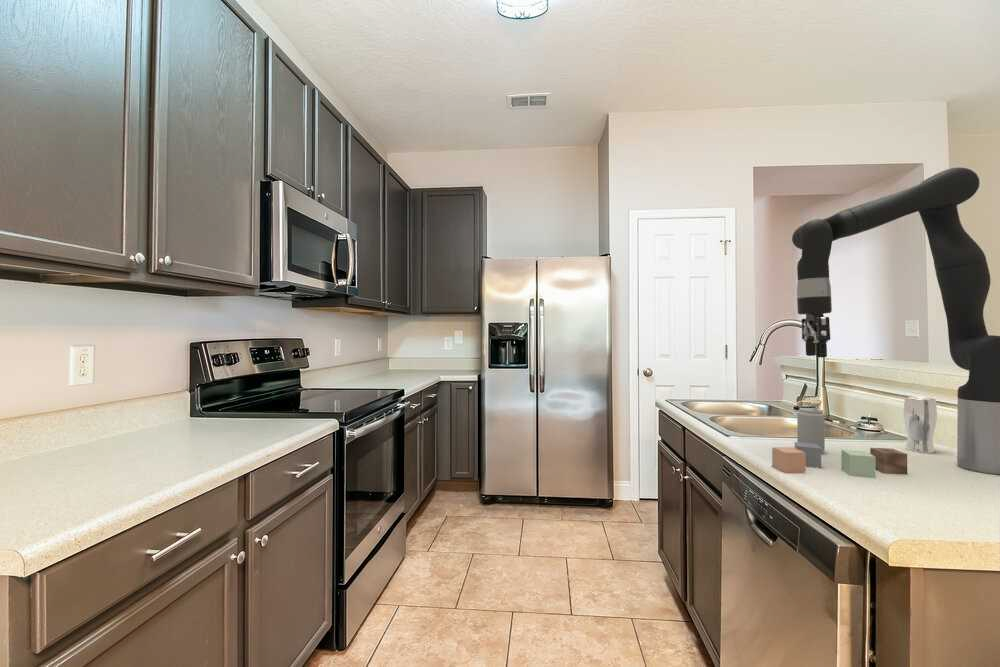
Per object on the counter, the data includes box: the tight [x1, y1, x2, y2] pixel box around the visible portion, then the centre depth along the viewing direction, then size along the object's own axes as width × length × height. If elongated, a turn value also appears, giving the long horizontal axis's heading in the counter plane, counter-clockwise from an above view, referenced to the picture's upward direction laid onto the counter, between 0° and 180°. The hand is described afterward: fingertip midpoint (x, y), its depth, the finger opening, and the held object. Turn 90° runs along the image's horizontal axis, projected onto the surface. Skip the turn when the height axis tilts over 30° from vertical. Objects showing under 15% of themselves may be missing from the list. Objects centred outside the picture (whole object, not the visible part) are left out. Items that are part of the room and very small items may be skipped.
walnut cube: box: [869, 447, 908, 475], centre depth 110 cm, size 5×5×5 cm
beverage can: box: [796, 407, 826, 454], centre depth 128 cm, size 6×6×12 cm
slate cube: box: [794, 441, 822, 469], centre depth 116 cm, size 5×5×5 cm
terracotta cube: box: [771, 446, 807, 474], centre depth 111 cm, size 5×5×5 cm
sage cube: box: [840, 449, 876, 479], centre depth 108 cm, size 5×5×5 cm
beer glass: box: [903, 396, 938, 454], centre depth 129 cm, size 7×7×15 cm
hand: (816, 356), depth 120 cm, fingers open, 8 cm apart
